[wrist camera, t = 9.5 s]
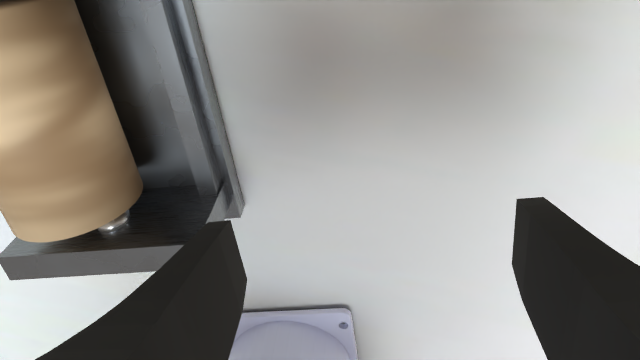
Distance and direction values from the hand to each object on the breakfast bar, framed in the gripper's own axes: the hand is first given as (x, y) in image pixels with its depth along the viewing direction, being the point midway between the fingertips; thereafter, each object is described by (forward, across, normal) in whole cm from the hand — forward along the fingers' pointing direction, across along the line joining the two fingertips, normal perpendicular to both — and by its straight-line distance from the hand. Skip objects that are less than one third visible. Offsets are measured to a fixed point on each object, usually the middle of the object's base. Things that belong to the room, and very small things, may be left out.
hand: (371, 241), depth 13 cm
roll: (+9, +11, -2) cm, 14 cm away
